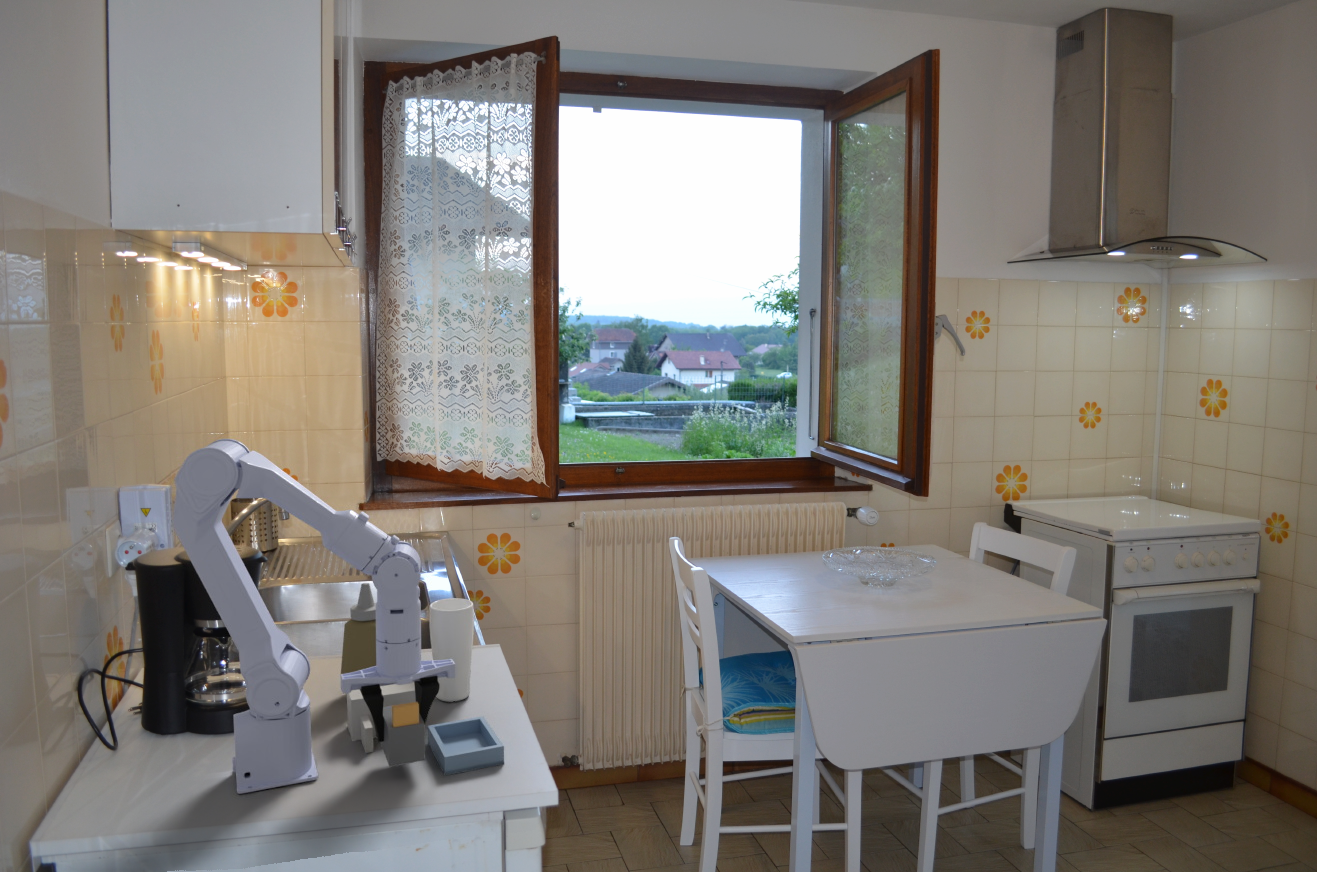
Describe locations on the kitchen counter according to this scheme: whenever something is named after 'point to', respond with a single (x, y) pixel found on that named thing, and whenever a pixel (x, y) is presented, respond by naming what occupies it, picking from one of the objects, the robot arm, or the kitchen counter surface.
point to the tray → (465, 745)
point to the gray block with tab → (403, 734)
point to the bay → (361, 715)
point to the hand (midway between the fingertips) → (399, 735)
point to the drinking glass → (453, 644)
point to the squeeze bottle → (360, 634)
